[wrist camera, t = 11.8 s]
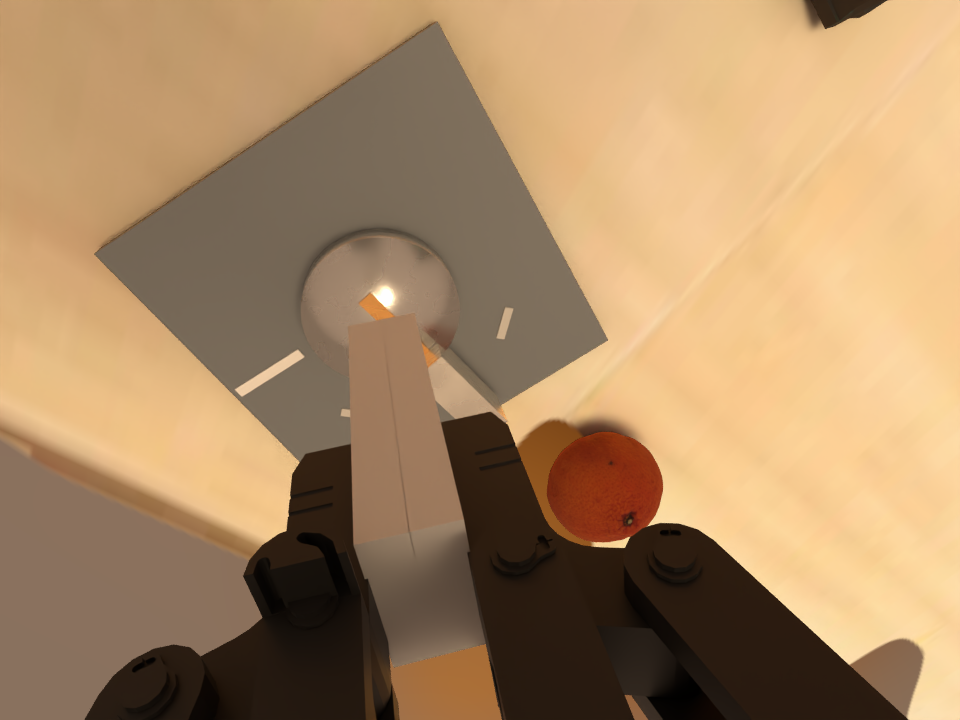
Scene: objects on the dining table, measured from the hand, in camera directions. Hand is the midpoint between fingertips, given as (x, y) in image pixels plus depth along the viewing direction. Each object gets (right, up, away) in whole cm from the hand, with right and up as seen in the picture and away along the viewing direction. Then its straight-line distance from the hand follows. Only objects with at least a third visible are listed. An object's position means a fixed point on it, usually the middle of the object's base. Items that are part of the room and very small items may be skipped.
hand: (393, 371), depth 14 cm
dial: (-3, +2, +28) cm, 29 cm away
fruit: (+11, -8, +39) cm, 41 cm away
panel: (-5, +5, +28) cm, 29 cm away
